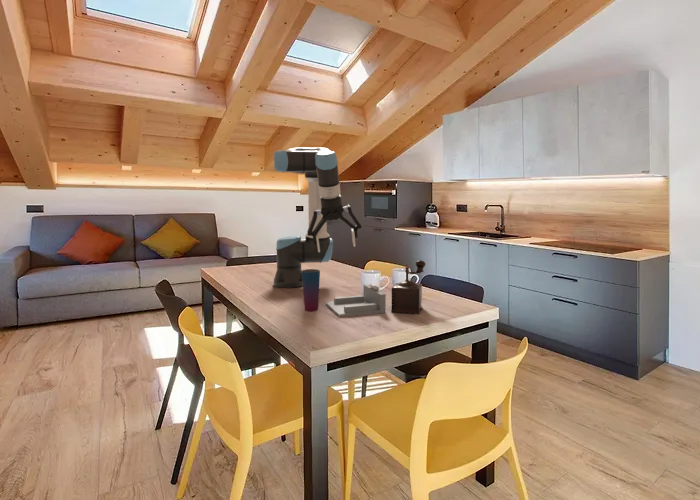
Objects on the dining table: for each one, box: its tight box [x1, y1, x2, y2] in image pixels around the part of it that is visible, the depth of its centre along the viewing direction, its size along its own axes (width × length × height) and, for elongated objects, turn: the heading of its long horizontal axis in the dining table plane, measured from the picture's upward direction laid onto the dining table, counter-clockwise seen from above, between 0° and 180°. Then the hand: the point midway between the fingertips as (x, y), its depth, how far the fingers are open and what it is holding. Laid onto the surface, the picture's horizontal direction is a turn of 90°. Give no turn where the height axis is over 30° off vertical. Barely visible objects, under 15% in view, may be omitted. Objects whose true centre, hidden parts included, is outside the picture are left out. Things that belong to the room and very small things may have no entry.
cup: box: [302, 268, 321, 312], centre depth 158 cm, size 7×7×15 cm
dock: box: [325, 283, 387, 318], centre depth 160 cm, size 18×18×9 cm
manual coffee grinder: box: [391, 259, 426, 315], centre depth 160 cm, size 16×11×18 cm
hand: (336, 248), depth 160 cm, fingers open, 13 cm apart
